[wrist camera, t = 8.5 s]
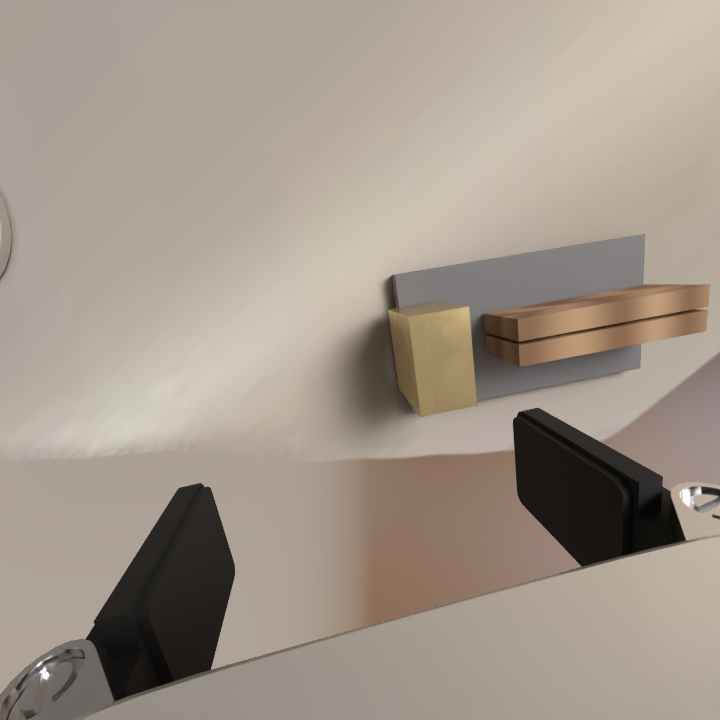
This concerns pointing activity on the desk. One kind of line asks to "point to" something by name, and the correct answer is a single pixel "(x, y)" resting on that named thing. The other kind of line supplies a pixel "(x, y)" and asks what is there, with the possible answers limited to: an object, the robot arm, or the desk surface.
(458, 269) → the tong mat
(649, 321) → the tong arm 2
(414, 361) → the tan block
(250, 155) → the desk surface
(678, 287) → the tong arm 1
